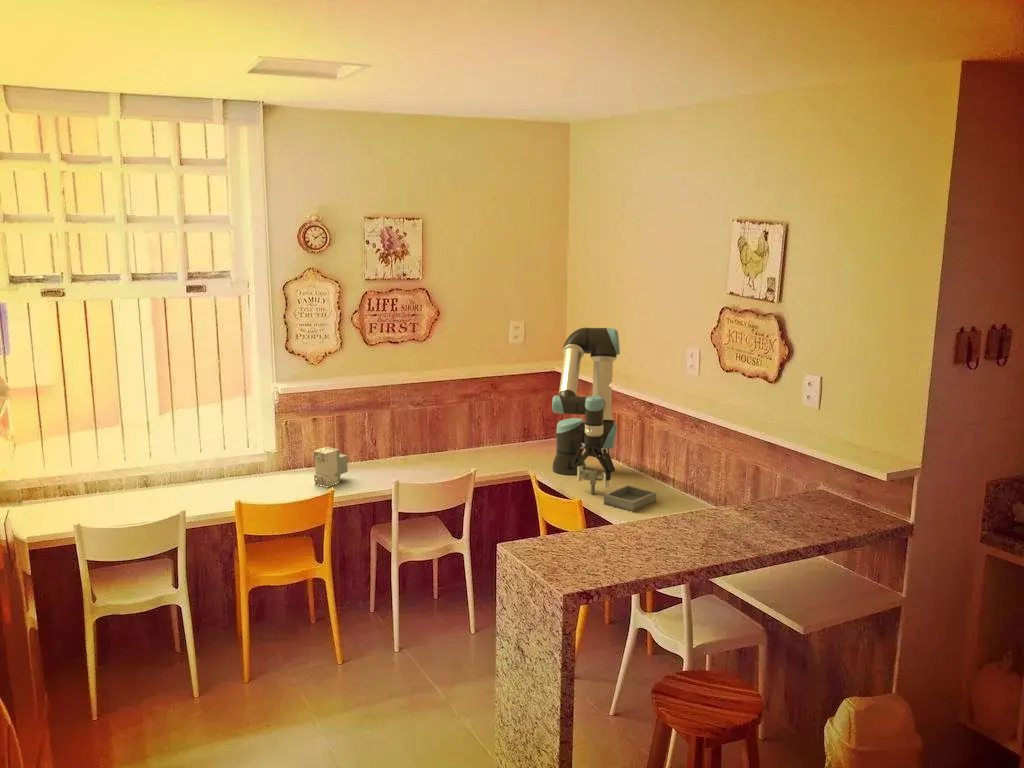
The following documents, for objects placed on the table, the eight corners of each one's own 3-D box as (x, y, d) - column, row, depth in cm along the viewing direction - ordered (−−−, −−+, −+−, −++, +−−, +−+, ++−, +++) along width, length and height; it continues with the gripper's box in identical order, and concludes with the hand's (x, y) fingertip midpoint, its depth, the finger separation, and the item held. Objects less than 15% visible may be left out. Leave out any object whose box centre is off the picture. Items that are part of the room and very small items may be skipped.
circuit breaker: (350, 479, 388) (349, 446, 385) (326, 487, 377) (325, 453, 374) (338, 476, 393) (337, 443, 389) (314, 484, 381) (312, 450, 378)
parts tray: (627, 494, 368) (627, 485, 367) (655, 502, 358) (656, 492, 358) (604, 504, 356) (604, 494, 355) (632, 512, 347) (633, 502, 346)
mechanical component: (604, 495, 366) (605, 472, 364) (580, 494, 368) (580, 471, 366) (605, 493, 369) (606, 470, 367) (581, 491, 371) (581, 469, 369)
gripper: (564, 430, 369) (563, 480, 373) (613, 441, 352) (611, 492, 356) (575, 427, 374) (574, 476, 378) (624, 437, 358) (622, 488, 362)
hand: (592, 484), depth 367 cm, fingers open, 13 cm apart
